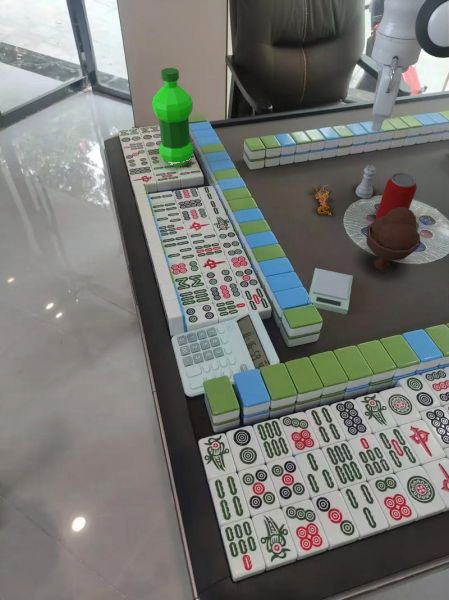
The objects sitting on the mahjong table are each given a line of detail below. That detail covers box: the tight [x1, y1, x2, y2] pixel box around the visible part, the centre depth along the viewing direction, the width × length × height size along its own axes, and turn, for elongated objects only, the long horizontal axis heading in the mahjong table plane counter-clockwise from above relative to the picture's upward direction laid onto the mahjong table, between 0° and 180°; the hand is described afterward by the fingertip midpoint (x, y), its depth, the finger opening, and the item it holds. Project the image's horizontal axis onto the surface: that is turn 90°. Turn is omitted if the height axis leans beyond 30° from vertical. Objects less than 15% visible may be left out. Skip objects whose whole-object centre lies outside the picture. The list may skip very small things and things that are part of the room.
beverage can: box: [375, 172, 418, 220], centre depth 103 cm, size 7×7×12 cm
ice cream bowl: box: [366, 207, 421, 271], centre depth 90 cm, size 11×11×15 cm
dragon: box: [311, 184, 332, 216], centre depth 111 cm, size 4×11×4 cm, turn 178°
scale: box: [308, 267, 354, 315], centre depth 89 cm, size 8×10×3 cm
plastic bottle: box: [151, 67, 195, 168], centre depth 116 cm, size 10×10×25 cm
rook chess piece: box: [355, 164, 377, 199], centre depth 112 cm, size 4×4×8 cm
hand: (377, 119), depth 93 cm, fingers open, 8 cm apart
